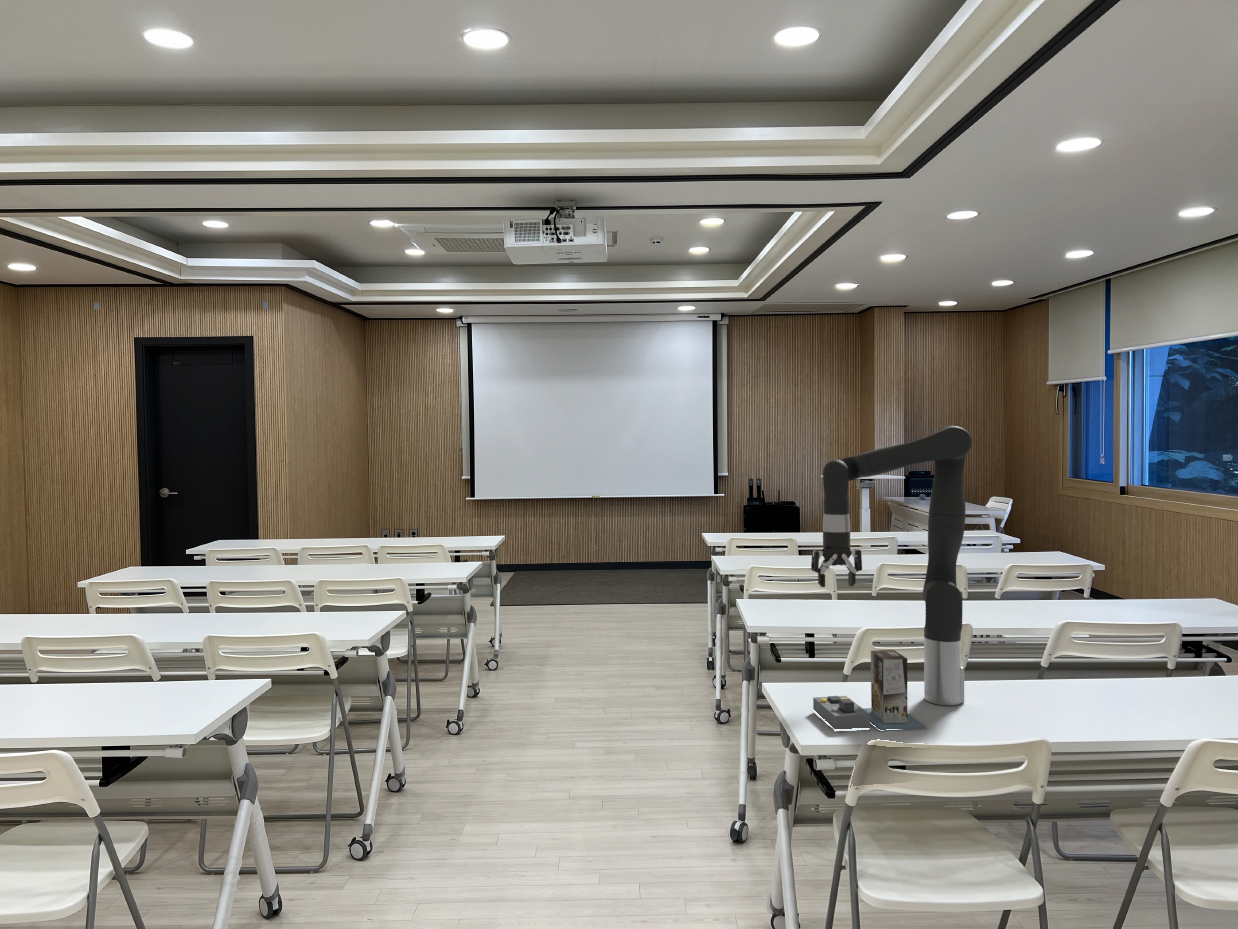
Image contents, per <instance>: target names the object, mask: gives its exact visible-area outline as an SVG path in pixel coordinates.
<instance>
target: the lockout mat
mask: <svg viewBox="0 0 1238 929" xmlns="http://www.w3.org/2000/svg"><path fill="white" fill-rule="evenodd" d="M862 708H863V707H862ZM863 709H864V710H865V711H867V712H868V713H869V714H870V722H871V723H872V724H873V725H875V726H876V727H877V728H878V729H880V730H886V729H913V730H926V729H927V725H926V724H924V723H923V722H922V721H920V720H919V719H918V718H916V717H914V716H913V715H912V714H910V713H908V712H907V723H883V722H882V721H881V720H880V719H879V718H878V717H877V716H876V715H875V714H874V713H873V712H872V710H871V707H867V708H863Z"/></svg>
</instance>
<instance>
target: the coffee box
mask: <svg viewBox="0 0 1238 929" xmlns="http://www.w3.org/2000/svg"><path fill="white" fill-rule="evenodd" d="M870 690H871V691H870V692H871V693H870V694H871V695H870V696H871V698H870V700H871V702H870V703H871V707H870V708H871V710H872V712H873V713H874V714H875V715H876V716H877V717H878V718H879V719H880V720H881V721H882V722H883V723H907V713H908V658H907V657H906V656H904V655H902V654H901V653H899V652H897V651H896V650H895V649H882V650H881V649H880V650H870Z"/></svg>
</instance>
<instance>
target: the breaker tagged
mask: <svg viewBox="0 0 1238 929" xmlns="http://www.w3.org/2000/svg"><path fill="white" fill-rule="evenodd" d="M838 696H839V695H830V696H829V695H828V696H827V697H828V701H829V702H830V703H831V704H838V703H839V699H841V698H840V697H838Z"/></svg>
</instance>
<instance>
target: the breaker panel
mask: <svg viewBox="0 0 1238 929" xmlns="http://www.w3.org/2000/svg"><path fill="white" fill-rule="evenodd" d="M837 696H838V697H840V698H841V699H848V698H849V697H848V696H847V695H837ZM812 699H813V700H812V701H813V706H812V710H813V709H814V710H815V711H816V712H817V713H818V714H819V715H820V716H821V717H822V718H823V719H825V721H827V722H828V723H829V724H830V725H831V726H832V727H833V728H834V729H852V728H870V729H871V724H870V714H869V713H868V712H867V711H865V710H864V709H863V707H861V706H860V705H859V704H858V703H856V702H854V701H853V702H854V713H842V712H841V711H840V710H839V703H838V704H831V703H830V702H829V701H828V696H819V697H813V698H812ZM849 699H850V700H852V699H851V698H849Z"/></svg>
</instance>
